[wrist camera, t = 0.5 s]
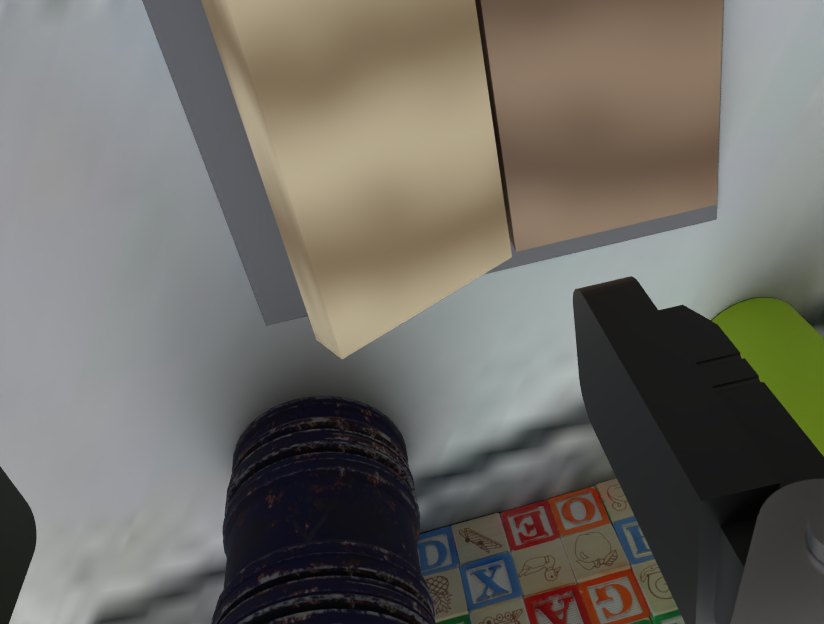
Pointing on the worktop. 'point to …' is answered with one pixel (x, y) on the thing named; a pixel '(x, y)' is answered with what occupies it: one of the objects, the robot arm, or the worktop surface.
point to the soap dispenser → (782, 357)
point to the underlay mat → (241, 181)
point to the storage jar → (322, 521)
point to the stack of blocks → (548, 565)
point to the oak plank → (369, 151)
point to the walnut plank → (602, 111)
